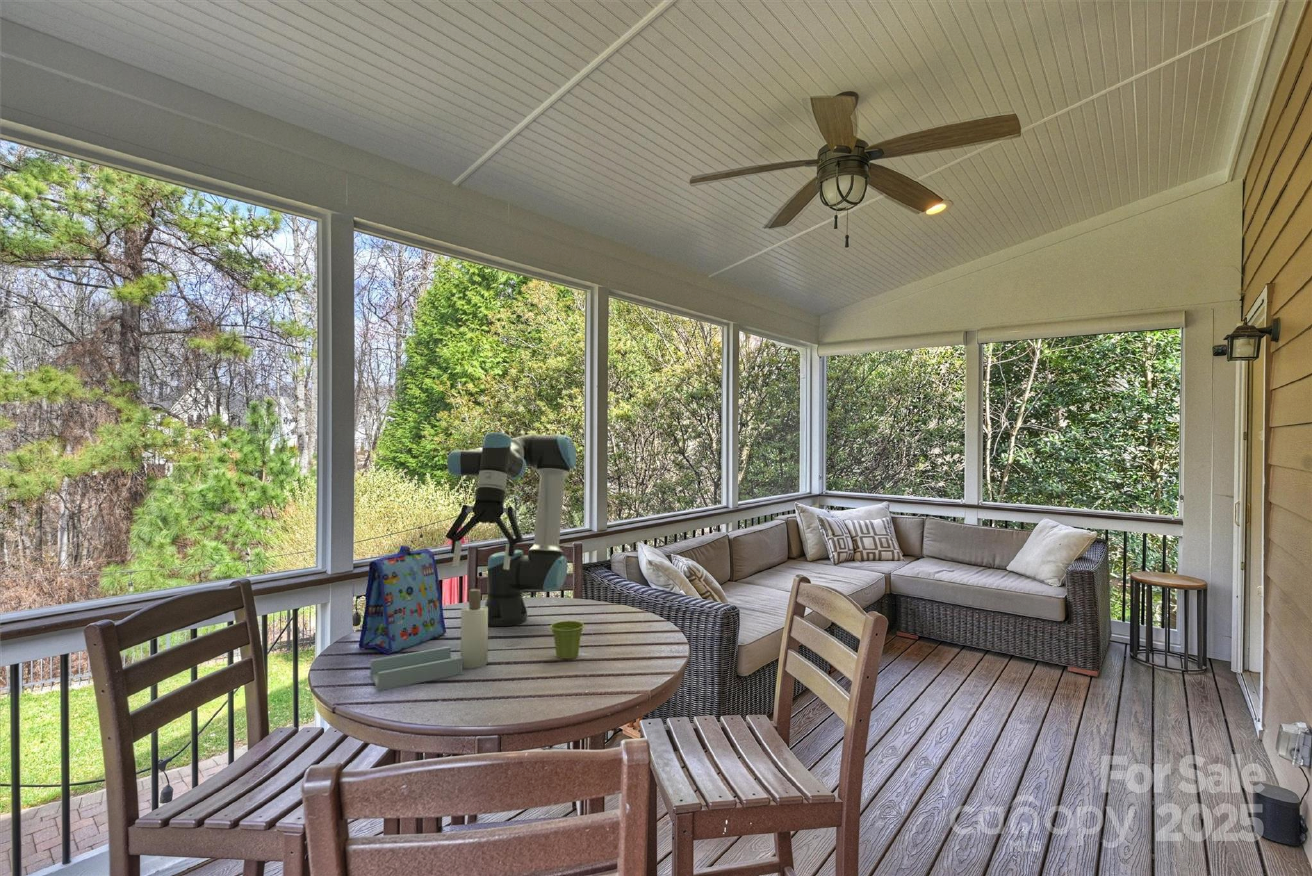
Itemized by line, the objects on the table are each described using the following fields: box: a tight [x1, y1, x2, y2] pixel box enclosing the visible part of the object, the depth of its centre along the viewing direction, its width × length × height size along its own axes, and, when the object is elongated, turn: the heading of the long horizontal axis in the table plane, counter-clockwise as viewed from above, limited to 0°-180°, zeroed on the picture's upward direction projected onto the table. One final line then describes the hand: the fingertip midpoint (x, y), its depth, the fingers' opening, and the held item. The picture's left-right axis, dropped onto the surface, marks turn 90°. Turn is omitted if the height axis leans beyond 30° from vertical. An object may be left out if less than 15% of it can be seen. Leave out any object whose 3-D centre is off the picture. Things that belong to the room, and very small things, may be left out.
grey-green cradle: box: [369, 645, 463, 692], centre depth 157 cm, size 20×11×4 cm, turn 124°
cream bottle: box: [460, 588, 489, 669], centre depth 166 cm, size 7×7×20 cm
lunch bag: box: [358, 544, 447, 655], centre depth 184 cm, size 22×14×29 cm, turn 154°
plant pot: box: [550, 620, 585, 660], centre depth 172 cm, size 9×9×9 cm
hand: (480, 568), depth 159 cm, fingers open, 13 cm apart
